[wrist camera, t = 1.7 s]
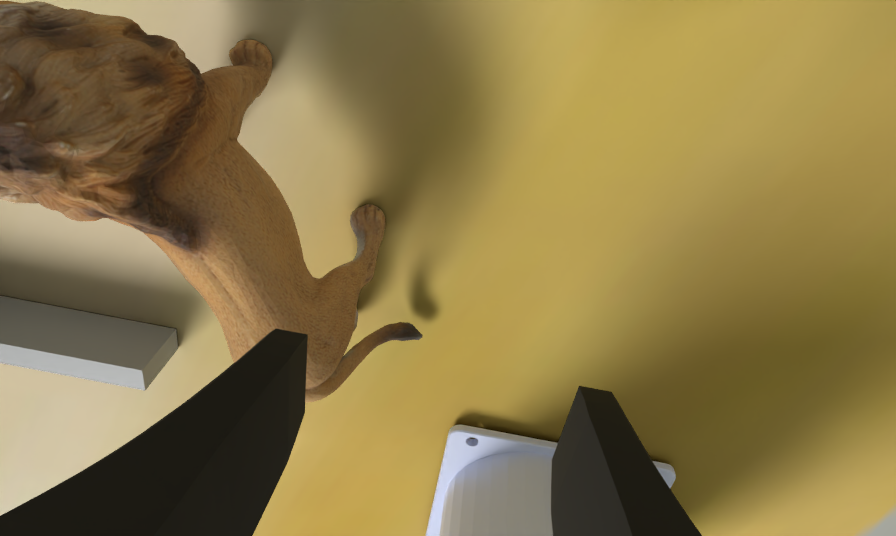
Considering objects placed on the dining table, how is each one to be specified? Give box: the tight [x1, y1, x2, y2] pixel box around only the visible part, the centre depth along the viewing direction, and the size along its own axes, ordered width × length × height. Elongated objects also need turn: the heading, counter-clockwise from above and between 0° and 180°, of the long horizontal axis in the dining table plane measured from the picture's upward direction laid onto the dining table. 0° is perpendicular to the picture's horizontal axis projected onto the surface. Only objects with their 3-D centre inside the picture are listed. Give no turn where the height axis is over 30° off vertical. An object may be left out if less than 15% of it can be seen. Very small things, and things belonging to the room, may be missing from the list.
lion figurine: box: [0, 1, 422, 402], centre depth 16 cm, size 15×5×9 cm, turn 38°
